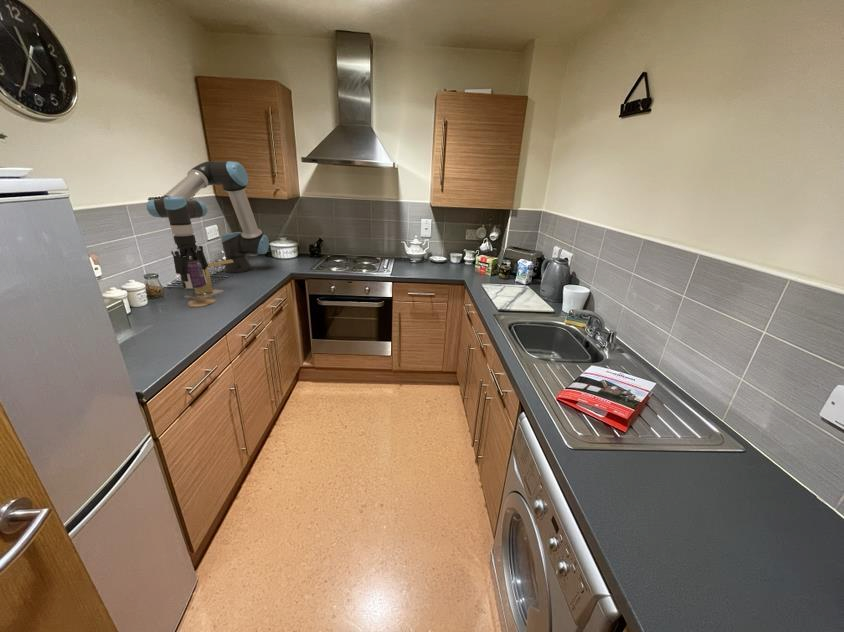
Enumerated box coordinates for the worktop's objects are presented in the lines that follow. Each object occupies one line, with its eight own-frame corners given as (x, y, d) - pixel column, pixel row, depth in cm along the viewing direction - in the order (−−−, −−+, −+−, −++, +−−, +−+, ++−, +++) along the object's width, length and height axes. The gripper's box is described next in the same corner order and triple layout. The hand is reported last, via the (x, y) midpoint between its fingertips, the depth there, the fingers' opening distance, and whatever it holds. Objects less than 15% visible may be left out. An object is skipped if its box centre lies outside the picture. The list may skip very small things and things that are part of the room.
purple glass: (203, 283, 152) (196, 258, 147) (208, 286, 148) (202, 260, 143) (185, 286, 147) (178, 261, 142) (191, 290, 143) (184, 263, 138)
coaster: (202, 298, 157) (201, 296, 156) (221, 300, 155) (220, 298, 154) (181, 306, 147) (181, 304, 147) (201, 308, 145) (201, 306, 144)
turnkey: (195, 293, 159) (188, 266, 154) (236, 284, 173) (230, 259, 168) (198, 294, 157) (190, 267, 152) (238, 285, 172) (233, 260, 167)
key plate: (205, 290, 168) (204, 287, 167) (224, 292, 166) (224, 289, 165) (184, 297, 157) (184, 294, 157) (205, 299, 155) (204, 297, 154)
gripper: (196, 231, 148) (208, 278, 157) (154, 237, 130) (170, 291, 139) (209, 231, 147) (221, 280, 155) (169, 238, 129) (184, 292, 137)
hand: (197, 285), depth 147 cm, fingers closed on purple glass, 7 cm apart
